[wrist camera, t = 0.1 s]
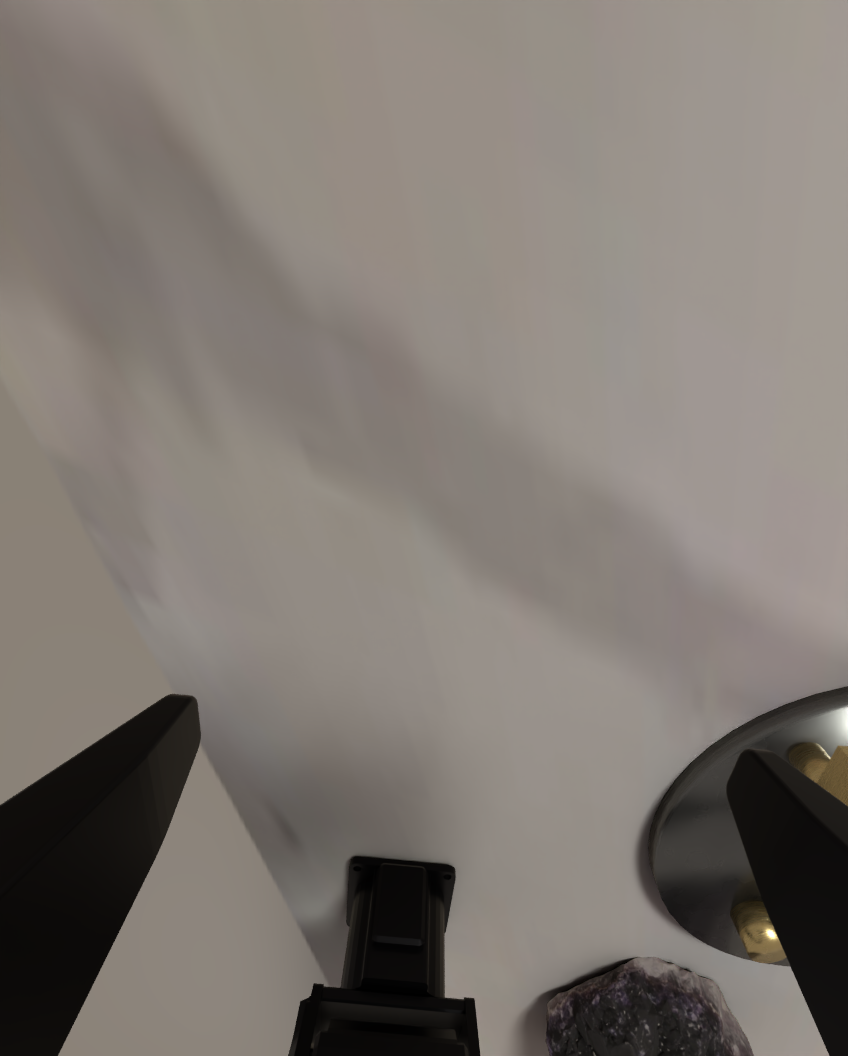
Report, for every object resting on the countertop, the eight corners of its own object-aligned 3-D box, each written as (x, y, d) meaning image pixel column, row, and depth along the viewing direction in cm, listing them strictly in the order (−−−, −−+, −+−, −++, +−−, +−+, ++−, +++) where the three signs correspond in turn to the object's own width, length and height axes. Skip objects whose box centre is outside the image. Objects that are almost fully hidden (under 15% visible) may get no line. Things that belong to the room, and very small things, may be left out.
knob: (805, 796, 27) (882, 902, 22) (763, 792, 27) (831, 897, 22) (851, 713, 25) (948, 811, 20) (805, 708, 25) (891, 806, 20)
